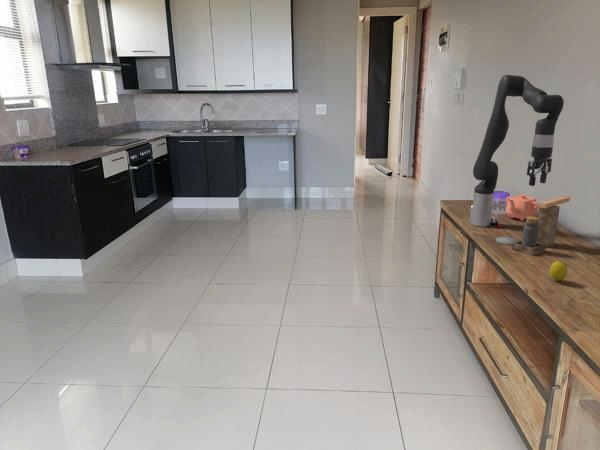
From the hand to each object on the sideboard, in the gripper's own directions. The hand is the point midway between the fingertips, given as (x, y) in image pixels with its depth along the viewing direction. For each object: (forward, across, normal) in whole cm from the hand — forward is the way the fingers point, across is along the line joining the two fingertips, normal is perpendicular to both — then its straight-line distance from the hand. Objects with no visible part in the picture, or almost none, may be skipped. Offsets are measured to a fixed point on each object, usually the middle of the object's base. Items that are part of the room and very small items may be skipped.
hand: (537, 184), depth 186 cm
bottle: (+30, 0, 0) cm, 30 cm away
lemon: (+30, +23, +24) cm, 45 cm away
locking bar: (+11, -17, 0) cm, 21 cm away
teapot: (+30, -44, -30) cm, 61 cm away
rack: (+30, -6, 0) cm, 30 cm away
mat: (+30, -4, -12) cm, 32 cm away
